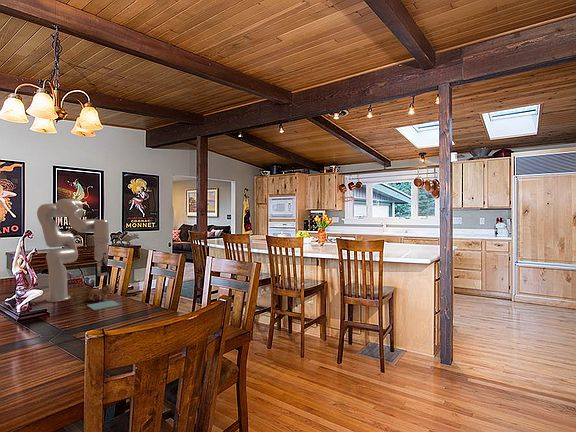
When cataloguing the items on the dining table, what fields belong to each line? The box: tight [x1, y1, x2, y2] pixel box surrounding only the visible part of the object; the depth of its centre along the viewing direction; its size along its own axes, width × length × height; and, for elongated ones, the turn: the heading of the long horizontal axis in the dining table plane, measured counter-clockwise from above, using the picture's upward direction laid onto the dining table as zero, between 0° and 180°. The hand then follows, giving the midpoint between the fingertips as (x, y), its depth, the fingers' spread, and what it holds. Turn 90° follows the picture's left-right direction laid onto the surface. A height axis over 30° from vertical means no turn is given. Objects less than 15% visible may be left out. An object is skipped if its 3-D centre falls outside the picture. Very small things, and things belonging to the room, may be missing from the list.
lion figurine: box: [85, 284, 113, 302], centre depth 215 cm, size 15×5×9 cm, turn 106°
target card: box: [86, 300, 121, 311], centre depth 203 cm, size 14×14×1 cm
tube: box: [96, 259, 108, 277], centre depth 202 cm, size 5×5×10 cm
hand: (102, 271), depth 202 cm, fingers closed on tube, 5 cm apart
